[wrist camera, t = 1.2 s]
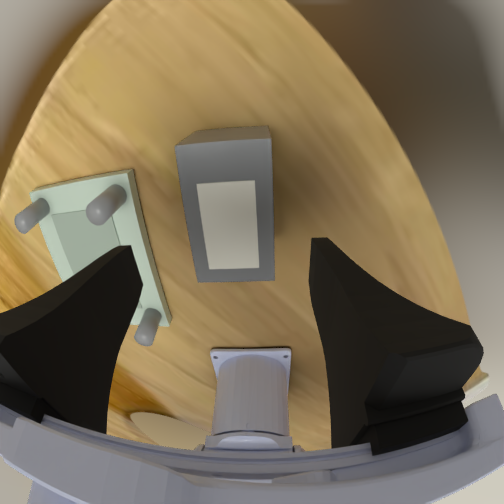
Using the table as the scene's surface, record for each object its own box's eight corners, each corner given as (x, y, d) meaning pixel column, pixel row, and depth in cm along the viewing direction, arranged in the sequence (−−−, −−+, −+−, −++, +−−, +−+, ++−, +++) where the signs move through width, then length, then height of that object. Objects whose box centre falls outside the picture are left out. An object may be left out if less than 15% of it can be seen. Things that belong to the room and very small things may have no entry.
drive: (271, 237, 21) (274, 281, 16) (210, 239, 21) (197, 283, 17) (267, 125, 16) (271, 139, 12) (196, 130, 17) (174, 146, 12)
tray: (171, 318, 25) (161, 352, 22) (86, 313, 26) (70, 341, 22) (132, 168, 18) (106, 189, 14) (36, 188, 18) (6, 208, 15)
